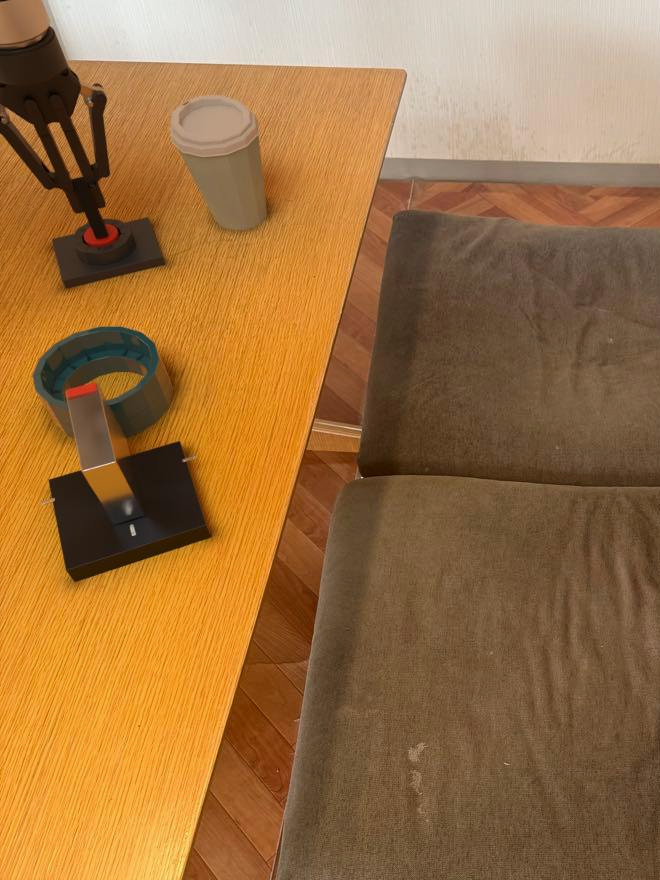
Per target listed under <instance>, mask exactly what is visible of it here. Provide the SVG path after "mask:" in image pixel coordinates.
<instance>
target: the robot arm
mask: <svg viewBox="0 0 660 880" xmlns="http://www.w3.org/2000/svg"><path fill="white" fill-rule="evenodd" d="M80 95H81V96H82V99H83V102H84V105H86V106H87V109H88V115H89V123H90V124H89V125H90V132H91V138H92V147H93V154H94V162H93V163H91V162H90V159H89V157H88V155H87V153H86V150H85V148H84V146H83V144H82V143H83V142H82V141H81V138H80V135H79V134H78V131H77V129H76V127H75V126H76V125H75V124H74V122H73V120H72V119H73V118H72V116H73V115H74V112H75V110H76V106H77V103H78V99H79V97H80ZM107 103H108V98H107V95H106V91H105V89H104V87H103V85H102V84H100V83H99V82H95V83H93V84H90V83H87V82H85V81H81V80H80V77H79V75H77V74H76V73H75V71H73V70H72V69H71V67H70V66H69V63H68V60H67V58H66V56H65V53H64V51H63V48H62V46H61V43H60V41H59V38H58V36H57V34H56V30H55V29H54V27H52V26H51V19H50V16H49V13H48V11H47V9H46V6H45V3H44V1H43V0H0V135H1V136H2V137H3V138H4V140H6V142H7V143H8V144H9V145H10V147H11V148H12V149H13V151H14V152H15V153H16V154H17V155H18V157H19V158H20V159H21V161H22V162H23V163H24V164H25V166H26V167H27V168H28V169H29V170H30V172H31V173H32V174H33V175H34V177H36V179H37V180H38V182H39V183H40V185H42V187H43V188H44V189H45V190H48V191H51V190H53V189H58V190H61V191H62V192H64V194H65V196H66V198H67V201H68V203H69V205H70V208H71V210H72V212H74V213H75V214H76V215H77V214H82V213H83V214H84V215H85V217H86V220H87V223H88V222H89V224H90V226H91V229H92V231H93V233H94V235H95V238H96V239H99V238H103V237H107V236H108V233H107V229H106V226H105V223H104V221H103V219H104V218H103V216H102V214H101V212H100V209H104V208H106V203H107V202H106V200H105V196H104V194H103V192H102V189H101V187H100V184H99V181H100V180H101V179H104V178H105V179H106V178H107V179H108V178H109V177H110V175H111V170H110V161H109V154H108V152H109V151H108V145H107V136H106V128H105V127H106V126H105V119H104V114H105V110H106V107H107ZM7 110H9V111H11V113H13V114H15V115H17V116H18V117H19V118H21V119H22V120H24V121H25V122H27V123H29V124H31V125H33V127H34V129H35V132H36V134H37V137H38V138H39V140H40V143H41V144H42V146H43V148H44V151H45V153H46V155H47V157H48V160H49V162H50V163H51V166H52V169H53V171H51V170H50V169H49V167H48V166H47V165H46V163H45V162H44V161H43V160H42V158H41V157H40V156H39V154H38V153H37V152H36V151H35V149H34V148H33V147H32V146H31V144H30V143H29V142H28V141H27V139H26V138H25V137H24V135H23V134H22V132H20V130H19V129H18V128H17V126H16V125H15V123H14V122H13V121H12V120H11V117H10V114H9V113H10V112H9V111H7ZM52 123H56V124H57V123H58V124H59V126H60V128H61V131H62V133H63V134H64V137H65V139H66V141H67V144H68V147H69V148H70V151H71V153H72V155H73V158H74V160H75V162H76V165H77V167H78V169H79V171H80V174H81V176H80V177H74V178H72V177H71V173H70V171H69V170H68V167H67V165H66V162H65V159H64V158H63V155H62V153H61V151H60V148H59V146H58V144H57V142H56V140H55V137H54V135H53V132H52V130H51V128H50V126H49V125H50V124H52Z"/></svg>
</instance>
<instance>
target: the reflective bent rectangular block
mask: <svg viewBox="0 0 660 880" xmlns="http://www.w3.org/2000/svg"><path fill="white" fill-rule="evenodd" d="M65 392H66V397H67V402H68V407H69V412H70V417H71V422H72V426H73V431H74V436H75V438H74V441H75V445H76V450H77V455H78V460H79V465H80V470H82V473H83V475H84V476H85V478H86V480H87V481H88V483H89V485H90V486H91V488H92V489H93V491H94V493H95V494H96V496H97V498H98V499H99V501H100V503H101V504H102V506H103V508H104V509H105V511H106V513H107V514H108V516H109V518H110V519H111V521H112V523H113V524H114V525H115V524H118V523H121V522H125V521H128V520H131V519H135V518H138V517H141V516H144V515H145V512H144V507H143V503H142V499H141V495H140V491H139V487H138V483H137V479H136V475H135V471H134V467H133V463H132V459H131V455H132V454H131V452H130V448H129V444H128V440H127V439H128V438H126V437H125V435H124V433H123V431H122V429H121V427H120V425H119V423H118V421H117V419H116V417H115V415H114V413H113V411H112V410H111V408H110V406H109V404H108V402H107V400H108V399H107V397H106V396H105V393H104V392H103V390H102V388H101V386H100V384H99V382H95V381H94V382H91V383H90V382H89V383H86V384H85V385H83V386H79V387H75V388H71V389H68V390H66V391H65Z"/></svg>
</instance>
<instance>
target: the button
mask: <svg viewBox="0 0 660 880" xmlns="http://www.w3.org/2000/svg"><path fill="white" fill-rule="evenodd" d="M105 226H106V229H107V233H108V236H107V237H103V238H99V239H96V238H95V235H94V233H93V231H92V229H91V228H89V229H88V230H87V231H86V232H85V233H84V239H85V241H86V244H87V245H88V246H92V247H102V246H107V245H110V244H112V243H113V242H115V241H117V240H118V238H119V237H120V235H119V233H118V230H117V229H116V227H114V226H113V225H109V224H105Z"/></svg>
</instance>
